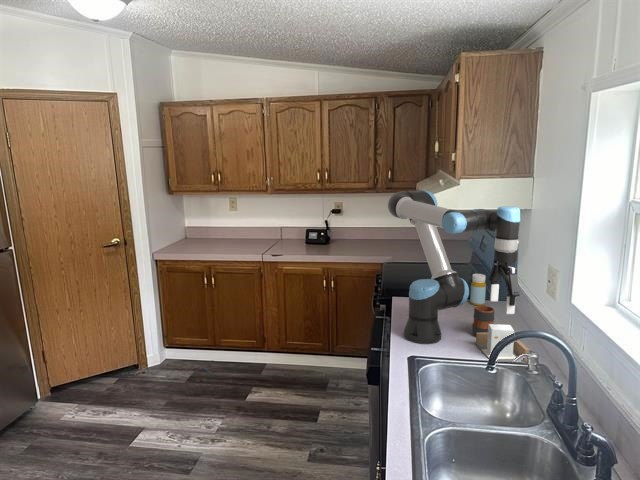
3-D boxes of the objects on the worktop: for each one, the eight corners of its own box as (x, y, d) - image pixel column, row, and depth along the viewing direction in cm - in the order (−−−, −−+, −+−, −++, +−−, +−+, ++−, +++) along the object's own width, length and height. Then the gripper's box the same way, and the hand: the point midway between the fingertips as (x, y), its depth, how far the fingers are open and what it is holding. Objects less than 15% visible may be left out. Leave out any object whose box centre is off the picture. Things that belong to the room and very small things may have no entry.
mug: (494, 330, 182) (496, 304, 180) (493, 340, 172) (495, 313, 170) (473, 327, 186) (474, 301, 184) (471, 337, 175) (472, 310, 173)
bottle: (483, 307, 212) (484, 277, 209) (468, 304, 215) (470, 275, 212) (486, 303, 217) (487, 274, 215) (471, 300, 221) (473, 272, 218)
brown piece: (492, 363, 153) (493, 350, 152) (475, 344, 168) (476, 332, 167) (528, 362, 153) (529, 349, 152) (508, 343, 168) (509, 332, 168)
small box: (508, 351, 161) (510, 324, 159) (513, 357, 155) (515, 330, 153) (486, 349, 162) (488, 323, 160) (489, 356, 156) (491, 329, 155)
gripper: (534, 257, 139) (528, 319, 143) (501, 243, 164) (497, 296, 168) (511, 258, 139) (506, 319, 143) (481, 243, 164) (478, 296, 168)
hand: (501, 307), depth 155 cm, fingers open, 13 cm apart
